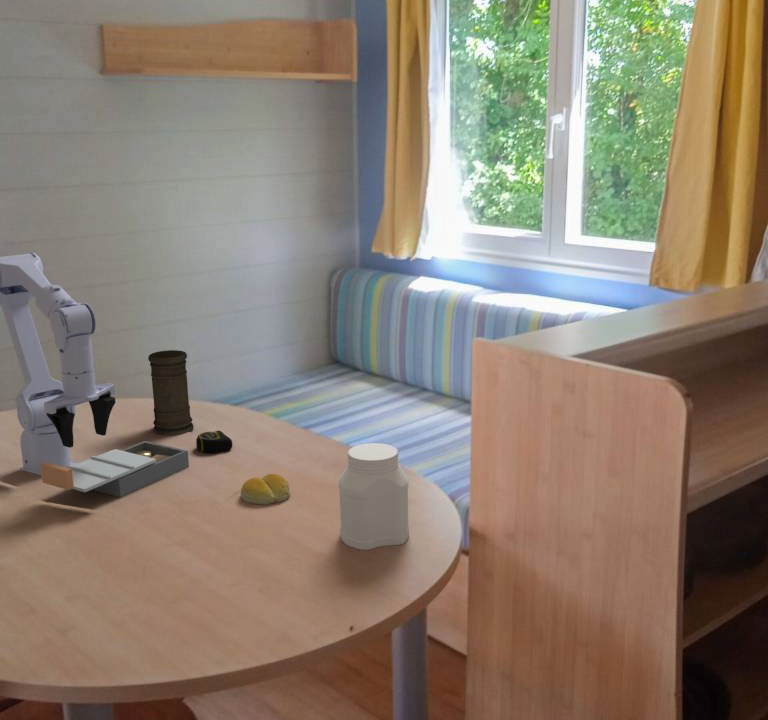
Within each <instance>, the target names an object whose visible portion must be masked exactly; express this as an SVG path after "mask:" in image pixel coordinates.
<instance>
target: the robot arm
mask: <svg viewBox="0 0 768 720" xmlns="http://www.w3.org/2000/svg"><path fill="white" fill-rule="evenodd" d="M34 298H35V305H36V307H37V308H38V310H39V311H40V312H41V313H42V315H44V316H45V318H47V319H48V321H49V323H50V327H51V328H50V329H51V331H52V334H53V336H54V342H55V346H56V348H58V351H59V359H60V368H61V371H60V372H61V377H62V378H61V379H62V380H61V381H60V380H58V379H55V378H53V377H52V376H51V374H50V371H49V367H48V364H47V361H46V357H45V354H44V352H43V351H44V350H43V348H42V345H41V342H40V338H39V334H38V332H37V329H36V325H35V323H34V318H33V315H32V312H31V310H30V307H29V302H30V301H31V300H32V299H34ZM0 307H1V309H2V313H3V315H4V318H5V321H6V326H7V328H8V331H9V335H10V337H11V341H12V344H13V348H14V350H15V351H14V352H15V354H16V357H17V360H18V364H19V366H20V370H21V373H22V375H23V376H22V377H23V381H24V382H25V384H24V385H23V387H22V388H21V389H20V390H19V392H18V393H17V394H16V396H15V404H16V409H17V410H16V412H17V413H16V414H17V419H18V422H19V424H20V426H21V428H22V429H23V431H22V433H21V435H20V438H19V440H20V443H19V444H20V449H21V450H20V451H21V452H20V453H21V459H22V467H20V468H19V471H25V472H29V473H32V474H36V475H39V476H42V473H41V465H40V464H42V463H44V462H48V463H52V464H55V465H59V466H63V467H67V466H68V465H71V466H73V465H75V464H78V463H79V462H78V463H77V462H74V461H72V457H71V448H73V447H74V419H75V417H76V406H79V405H81V404H84V403H89V406H90V410H91V412H92V418H93V426H94V431H95V434H96V435H99V436H103V437H104V436H106V434H107V429H108V423H109V419H110V415H111V412H112V410H113V408H114V406H115V404H116V398H115V397H114V395H116V390H115V389H116V388H115V384H113V383H108V382H107V383H103V384H98V385H97V384H96V376H95V364H94V355H93V353H94V352H93V345H92V335H93V334H94V333H95V331H96V329H97V327H96V326H97V323H96V316H95V312H94V310H93V309H92V307H91V306H90V305H89V303H87V302H84V303H83V302H78V303H77V302H76V300H74V299H73V297H72V296H70V294H68V292H66V291H65V290H64V288H63V287H62V286H60V285H59V284H51V282H50V281H49V280H48V278H47V277H46V275H45V274H44V267H43V263H42V259H41V258H40V256H39V255H38V254H37V253H35V252H29V253H23V254H15V255H6V256H5V255H4V256H0Z"/></svg>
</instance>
